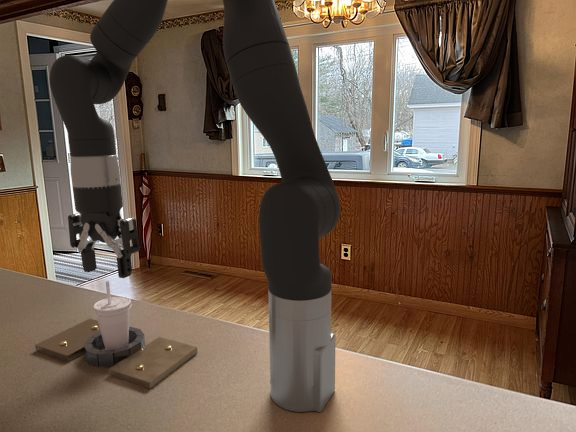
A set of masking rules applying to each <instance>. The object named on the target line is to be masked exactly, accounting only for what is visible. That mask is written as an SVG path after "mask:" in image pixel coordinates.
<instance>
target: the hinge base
mask: <svg viewBox="0 0 576 432" xmlns="http://www.w3.org/2000/svg"><path fill="white" fill-rule="evenodd" d="M144 333H145V332H143V331H142V329H141V328H136V327H134V326H129V341H128V345H127V346H125V347H122V348H118V349H115V350H104V349H103V350H102V348H103V347H105V346H104V342H103V339H102V335H101V331H100V327H99V323H98V320H97V319H96V320H95V319H94V318H93V319H92V318H88V319H86V320H84V321H82V322H80V323H77V324H76V325H74V326H72V327H69V328H67V329H65V330H63V331H61V332H59V333H57V334H55V335H52V336H51V337H49V338H45V340H42V341H39V343H36V344H35V345H34V347H35V352H38V353H42V354H44V355H48V356H50V357H53V358H57V359H59V360H63V361H66V362H68V363H69V362H71V361H72V360H74V359H77V358H78V357H80V356H82V355H83V354H84V356H85V357H84V358H85V360H86V363H87V364H88V365H91V366H94V367H96V368H108V376H110V377H113V378H116V379H119V380H122V381H124V382H128V383H131V384H133V385H136V386H140V387H143V388H145V389H149V390H151V389H153V388H154V387H155V386H156V385H158V384H159V383H160V382H162V381H163V380H165V378H167V377H168V376H170V375H171V374H172V373H174V371H176V370H178V368H180V367H182V365H184V364H185V363H186V362H187V361H189V360H190V359H191V358H193V357H194V356H195V355H197V354H198V346H195V345H192V344H187V343H184V342H180V341H176V340H172V339H168V338H164V337H161V336H158V337H157V338H155V339H154V340H152V341H150V342H149V343H148V344H146V340H145V334H144Z"/></svg>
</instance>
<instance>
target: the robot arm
mask: <svg viewBox="0 0 576 432" xmlns="http://www.w3.org/2000/svg"><path fill="white" fill-rule="evenodd" d="M222 2H223V3H222V4H223V11H224V12H223V14H224V16H223V18H224V19H223V26H222V27H223V28H222V29H223V31H222V47H223V53H224V54H223V55H224V60H225V64H226V66H227V67H226V68H227V70H228V74H229V77H230V80H231V84H232V87H233V90H234V93H235V97H236V98H237V100H238V102H239V104H240V106H241V108H242V109H243V111H244V113H246V116H247V117H248V118H249V119H250V121H251V122H252V125H253V124H254V126H255V128H256V129H257V130H258V132H259V133H260V134H261V136H263V138H264V139H265V142H266V143H267V145H268V146H269V148H270V150H271V151H272V154H273V156H274V158H275V161H276V164H277V167H278V171H279V174H280V179H281V182H278V183H275V184H273V185H272V186H270V187H269V188H268V189H267V190H266V191H265V192H264V194H263V196H262V198H261V202H260V203H259V204H260V205H259V212H258V225H259V228H258V229H259V240H260V255H261V264H262V270H263V272H264V274H265V277H266V280H267V286H268V288H267V289H268V297H267V298H268V330H269V331H268V335H269V336H268V337H269V339H268V340H269V341H268V342H269V372H270V373H269V377H270V379H269V384H270V397H271V400H273V402H274V403H275V404H276V405H277V406H278V407H280V408H282V409H284V410H287V411H291V412H298V413H299V412H303V413H304V412H305V413H306V412H311V411H315V412H318V413H321V412H323V410H324V408H325V407H326V405H327V404H328V402H329V400H330V398H331V397H332V396H333V394H334V392H335V389H336V341H337V340H336V334H335V333H334V332H332V287H333V286H332V284H333V283H332V282H333V281H332V279H333V278H332V272H331V270H330V268H329V267H327V266H326V265H324V264H322V263H321V262H320V260H321V259H320V239H321V238H323V237H324V236H326V235H328V234H330V233H332V231H333V230H334V229H335V228H336V226H337V225H338V222H339V221H340V216H341V203H340V197H339V194H338V191H337V188H336V185H335V183H334V181H333V178H332V177H331V174H330V171H329V169H328V166H327V164H326V161H325V159H324V156H323V154H322V151H321V149H320V147H319V144H318V141H317V138H316V135H315V132H314V128H313V125H312V121H311V117H310V113H309V110H308V107H307V103H306V100H305V97H304V94H303V90H302V87H301V83H300V79H299V76H298V72H297V67H296V63H295V61H294V57H293V54H292V50H291V47H290V43H289V40H288V38H287V34H286V32H285V29H284V28H285V27H284V26H283V22H282V19H281V17H280V13H279V10H278V8H277V4H276V2H275V0H222ZM167 5H168V0H112V2H111V3H110V4H109V6H108V7H107V8H106V10H105V11H104V13H102V16H101V17H100V18H99V19H98V20H97V22H96V24H95V25H93V26H94V27H93V28H92V30H91V32H90V36H89V38H90V43H91V45H92V46H93V48H94V49H95V50H96V53H95V55H94V56H93V57H92V58H86V57H81V56H78V55H77V56H76V55H71V54H70V55H68V54H66V55H62V56H60V57H58V58H57V59H55V61H54V62H53V64H51V65H52V66H51V68H50V72H49V86H50V90H51V94H52V97H53V100H54V104H55V105H56V107H57V109H58V112H59V115H60V117H61V120H62V123H63V125H64V126H65V129H66V132H67V139H68V148H69V154H70V155H69V157H70V177H71V184H72V185H71V186H72V194H73V201H74V208H75V211H76V212H77V213H72V214H68V216H67V221H68V232H69V233H68V234H69V245H70V247H71V248H72V249H73V248H76V249H77V251H78V252H79V253H80V255H81V256H80V257H81V258H80V259H81V265H82V268H83V272H85V273H91V272H93V271H96V270H97V259H96V251H95V249H94V247H95V245H96V243H97V242H101V243H105V244H106V245H107V247H108V248H110V249H112V251H113V252H114V254H115V255H116V256H117V257H116V265H117V273H118V278H120V279H126V278H127V277H131V275H132V272H133V265H132V264H133V263H132V254H135V253H138V252H140V251H141V246H140V240H139V239H140V237H139V231H138V225H137V220H136V218H135V217H133V216H132V217H129V218H122V216H121V213H120V212H121V209H122V208H123V207H124V199H123V193H122V184H121V183H122V181H121V172H120V165H119V162H118V161H119V160H118V157H117V148H116V139H115V131H114V128H113V124H112V123H111V122H110V121H108V120H106V119H104V118H101V117H100V116H99V114H98V112H97V109H96V105H103V104H107V103H109V102H110V101H112V100H113V99H115V97H116V96H117V95H118V94H119V93H120V91H121V90H122V88H123V85H124V83H125V81H126V79H127V76H128V74H129V72H130V70H131V68H132V64H133V61H135V59H136V58H137V57H138V56H139V54H141V52H142V51H143V49H145V47H146V46H147V45H148V44H149V42H150V41H151V39H153V37H155V35H156V33H157V31H158V30H159V28H160V26H161V24H162V21H163V19H164V17H165V13H166V12H165V11H166V10H167V9H166V8H167ZM77 235H78V236H79V238H77ZM131 245H132V246H131ZM120 246H121V247H120Z"/></svg>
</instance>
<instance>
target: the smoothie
mask: <svg viewBox="0 0 576 432" xmlns="http://www.w3.org/2000/svg"><path fill="white" fill-rule="evenodd" d="M110 287H111V286H110V281H109V280H106V281H105V288H106V298H103V299H101V300H99V301H96V302H95V303H94V305H93V306H92V307H93V314H95V315H96V320H97V321H98V323H99V327H100V331H101V335H102V339H103V342H104V346H103V347H104V349H105V350H115V349H118V348H122V347H125V346H127V345H129V342H128V341H129V327H130V317H131V316H130V314H131V313H130V312H131V311H130V310H131V307H132V306H133V305H132V300H131V299H130V297H129V298H128V297H127V296H112V297H111V288H110Z"/></svg>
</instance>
